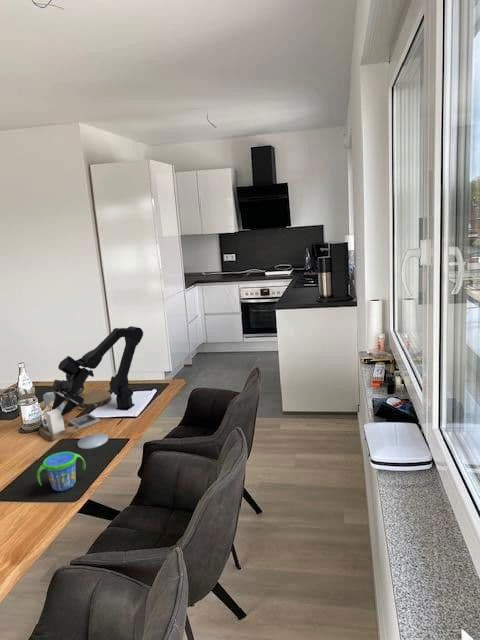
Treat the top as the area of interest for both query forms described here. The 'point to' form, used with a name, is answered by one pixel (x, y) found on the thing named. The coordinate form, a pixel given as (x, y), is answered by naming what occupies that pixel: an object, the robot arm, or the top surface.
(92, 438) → the pad
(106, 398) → the brown round slab
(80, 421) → the trap pit
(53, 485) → the snack cup
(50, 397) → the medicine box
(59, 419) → the white block
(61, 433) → the walnut channel
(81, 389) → the medicine bottle
